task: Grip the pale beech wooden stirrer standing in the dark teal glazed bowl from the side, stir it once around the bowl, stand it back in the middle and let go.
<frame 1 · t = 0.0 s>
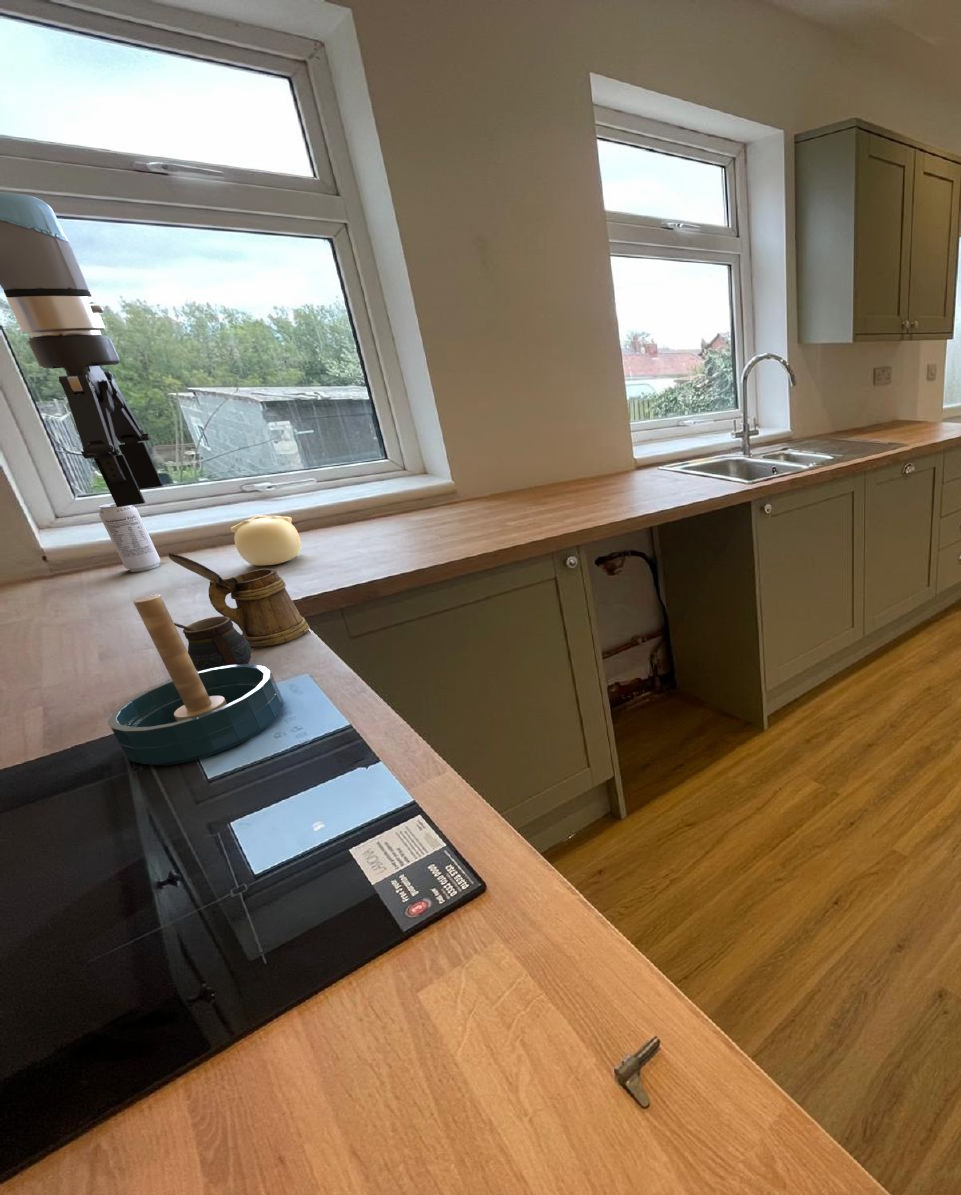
hand: (141, 495, 91), 27 cm above the worktop, tool pointing down, fingers open, 13 cm apart
yellow persimmon: (276, 562, 147), on the worktop
wooden stirrer: (209, 725, 83), point 1 cm above the worktop, touching bowl
mate gourd: (227, 672, 99), on the worktop
wooden mug: (263, 642, 108), on the worktop
bowl: (211, 730, 83), on the worktop
energy drink can: (145, 568, 147), on the worktop
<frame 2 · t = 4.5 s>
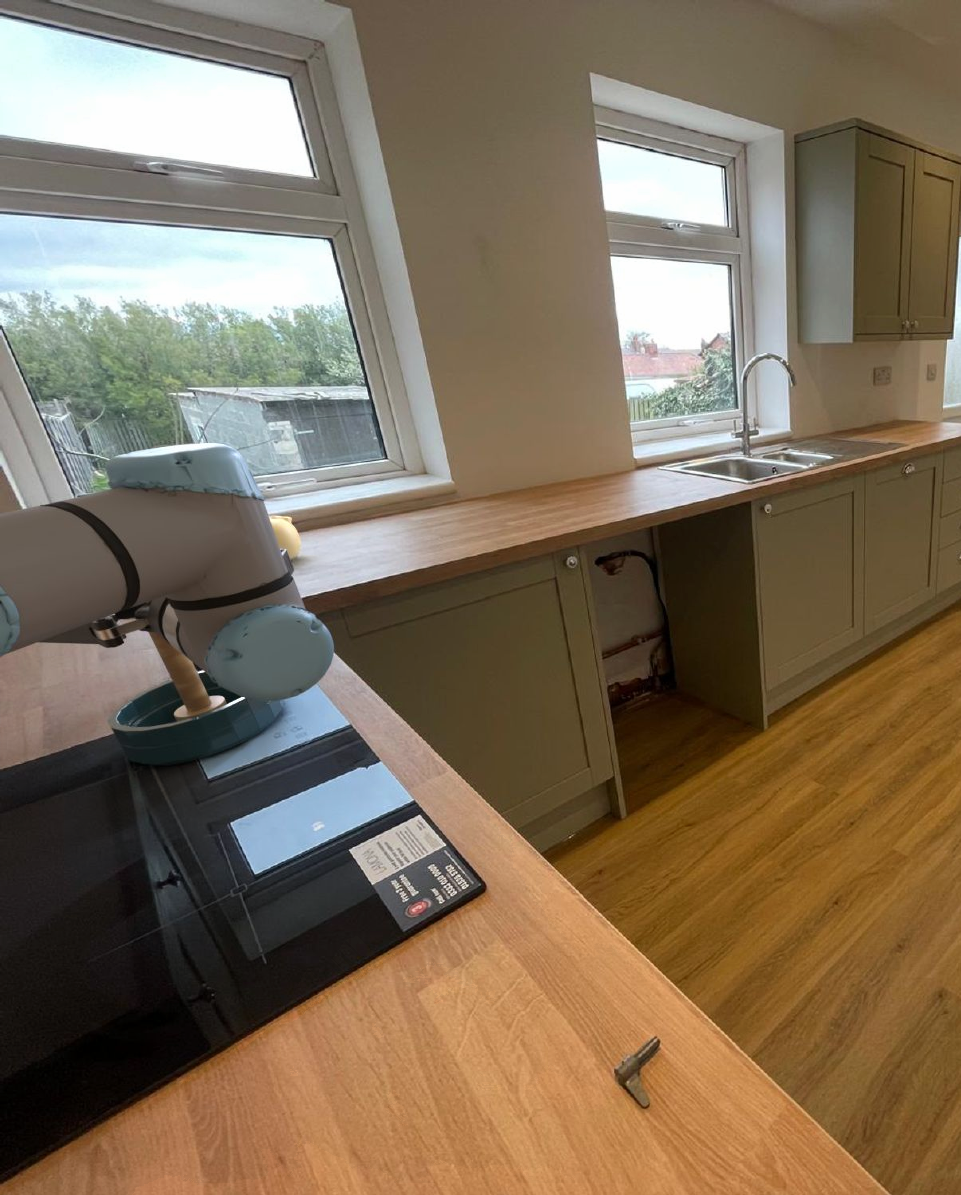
hand: (152, 577, 69), 23 cm above the worktop, tool horizontal, fingers open, 13 cm apart
nothing on the worktop moved.
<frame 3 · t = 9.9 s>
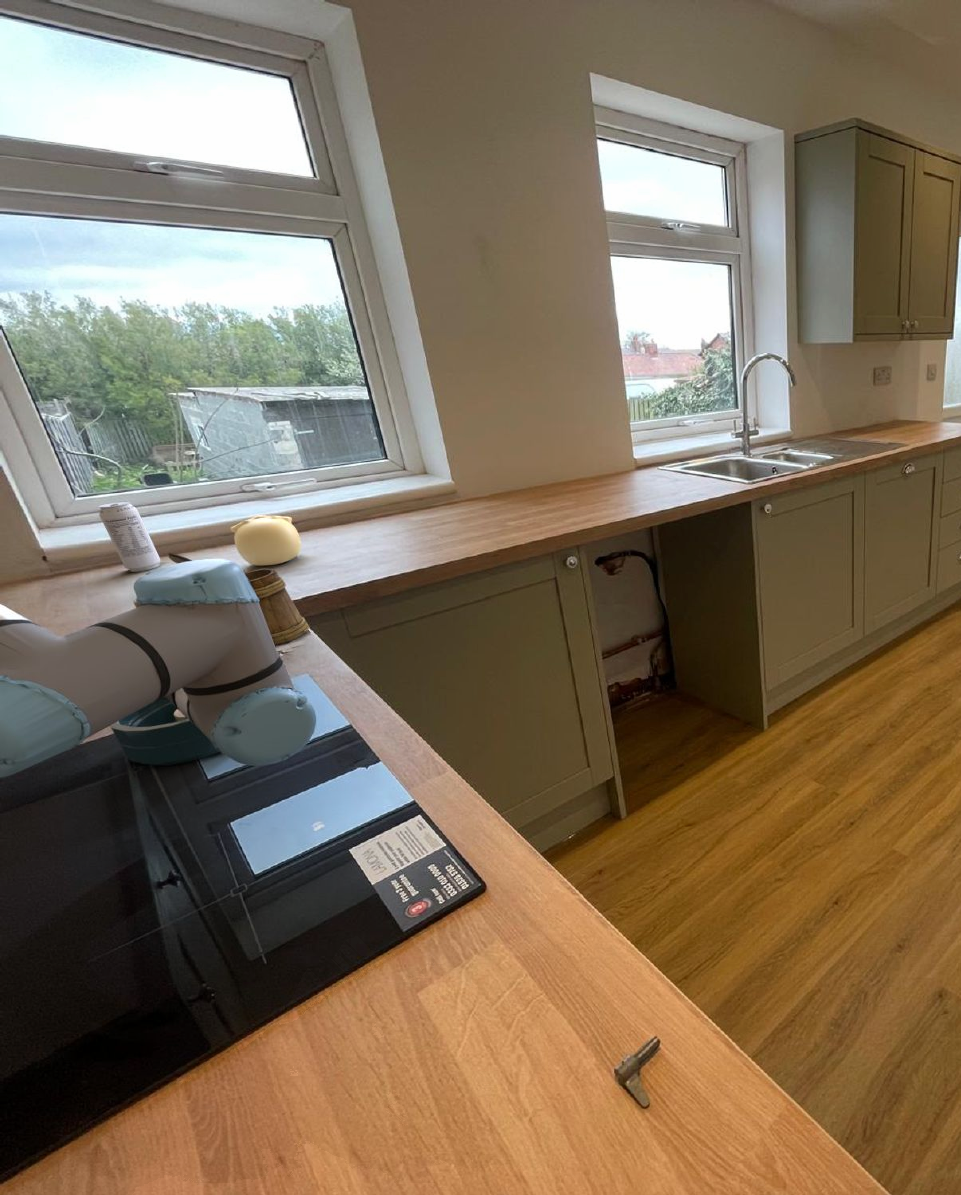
hand: (159, 638, 82), 12 cm above the worktop, tool horizontal, fingers closed on wooden stirrer, 2 cm apart
wooden stirrer: (209, 725, 83), point 1 cm above the worktop, touching gripper
everything else where it was.
when the fingers open (12 cm above the worktop, at t = 15.1 s): wooden stirrer stays where it is, resting on bowl.
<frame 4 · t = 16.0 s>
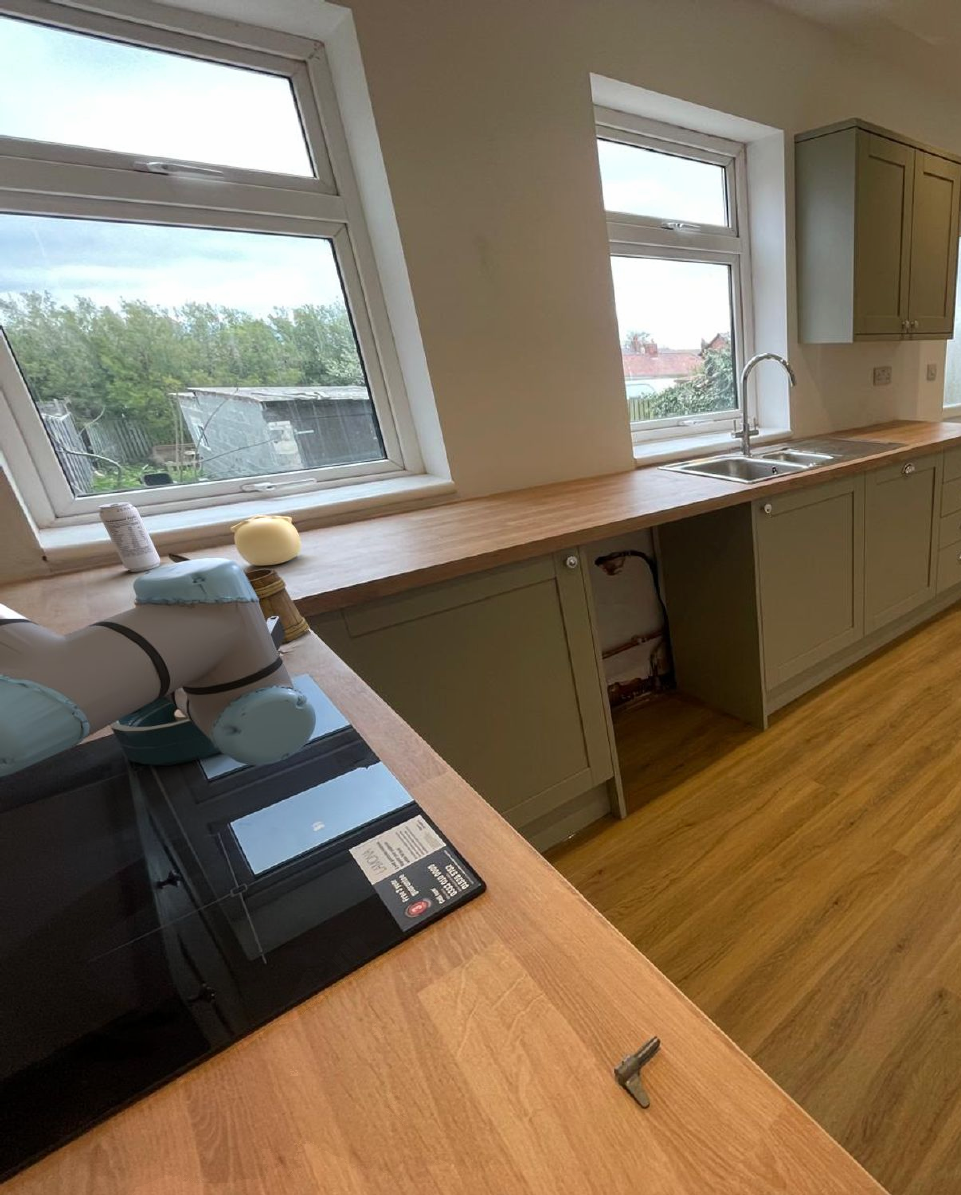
hand: (163, 642, 80), 12 cm above the worktop, tool horizontal, fingers open, 13 cm apart
wooden stirrer: (209, 725, 83), point 1 cm above the worktop, touching bowl
everything else where it was.
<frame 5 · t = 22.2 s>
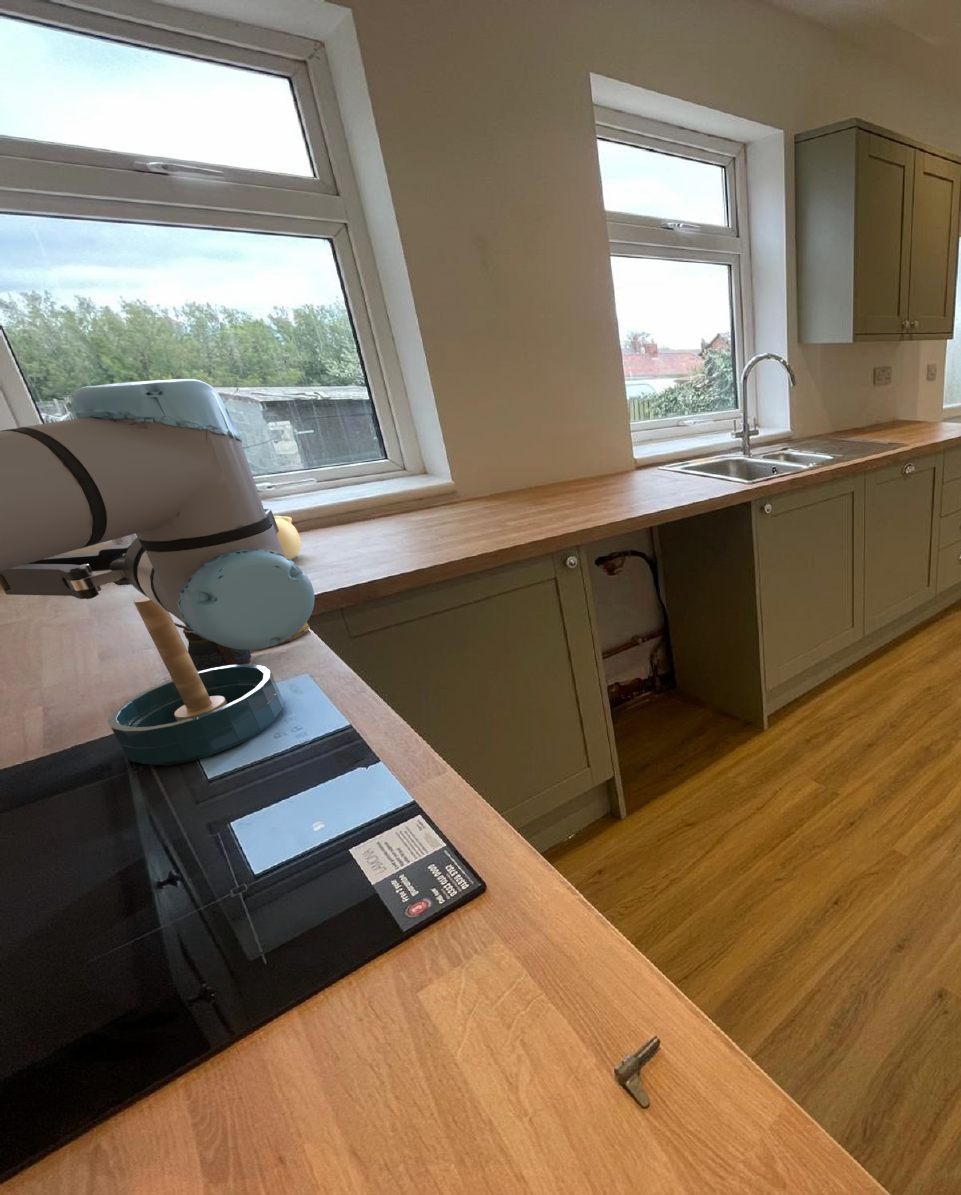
hand: (132, 535, 67), 28 cm above the worktop, tool horizontal, fingers open, 13 cm apart
nothing on the worktop moved.
at the end: wooden stirrer inside the target area in the bowl (0.0 cm from its centre), point 0.8 cm above the bowl's base; wooden stirrer tilted 0°; the gripper is holding nothing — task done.
